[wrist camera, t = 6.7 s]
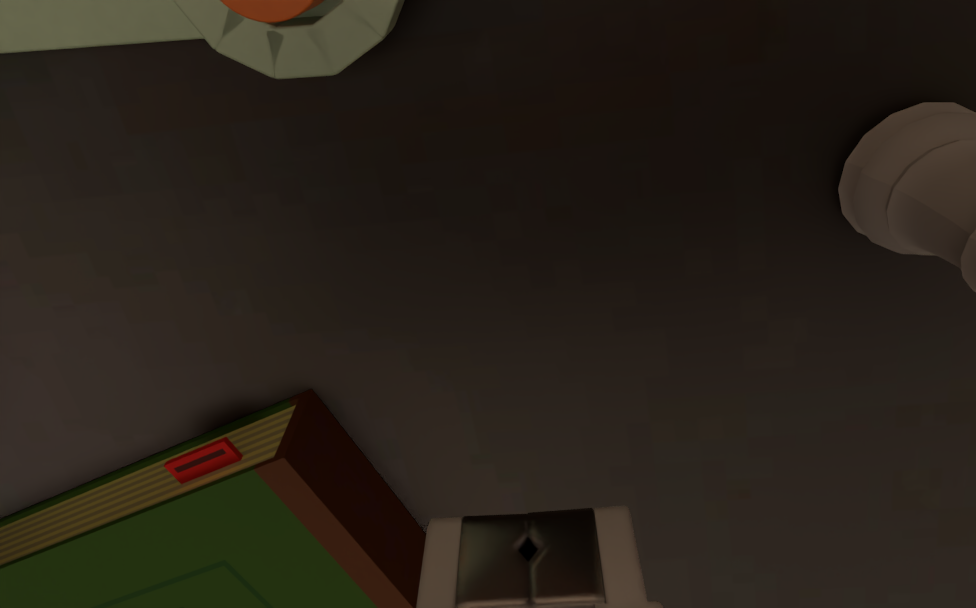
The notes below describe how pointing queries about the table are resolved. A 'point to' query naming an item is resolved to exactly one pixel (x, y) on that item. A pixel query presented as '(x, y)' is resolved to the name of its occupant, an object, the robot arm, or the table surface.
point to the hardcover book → (223, 526)
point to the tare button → (270, 9)
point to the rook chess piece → (917, 184)
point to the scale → (206, 30)
